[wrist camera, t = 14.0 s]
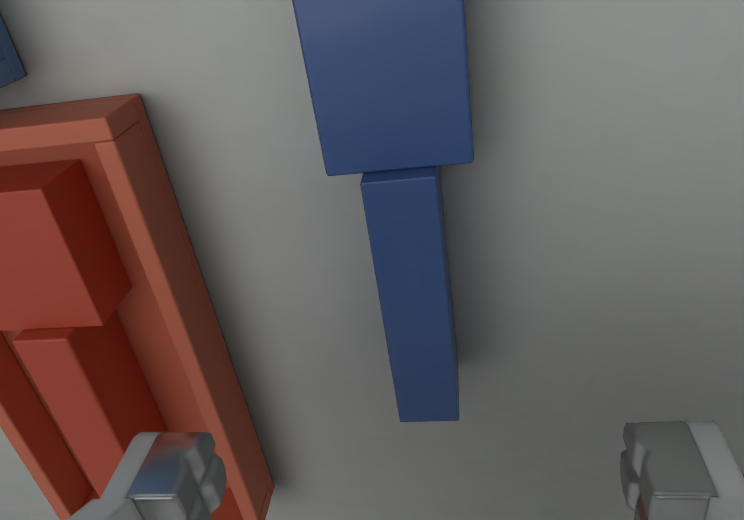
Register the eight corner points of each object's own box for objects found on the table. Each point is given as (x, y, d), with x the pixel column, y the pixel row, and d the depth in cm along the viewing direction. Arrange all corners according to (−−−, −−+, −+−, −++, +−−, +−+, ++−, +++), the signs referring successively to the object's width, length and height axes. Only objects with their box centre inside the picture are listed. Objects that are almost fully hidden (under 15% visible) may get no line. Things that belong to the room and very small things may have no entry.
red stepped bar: (203, 458, 24) (179, 516, 21) (116, 459, 24) (85, 515, 22) (80, 158, 17) (29, 197, 15) (-33, 168, 18) (-97, 208, 16)
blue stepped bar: (485, 364, 20) (490, 420, 18) (378, 368, 21) (371, 423, 19) (460, -51, 14) (462, -37, 12) (306, -28, 14) (282, -12, 12)
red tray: (274, 486, 25) (262, 531, 23) (90, 488, 26) (66, 530, 24) (139, 92, 16) (105, 117, 15) (-121, 124, 18) (-180, 150, 16)
